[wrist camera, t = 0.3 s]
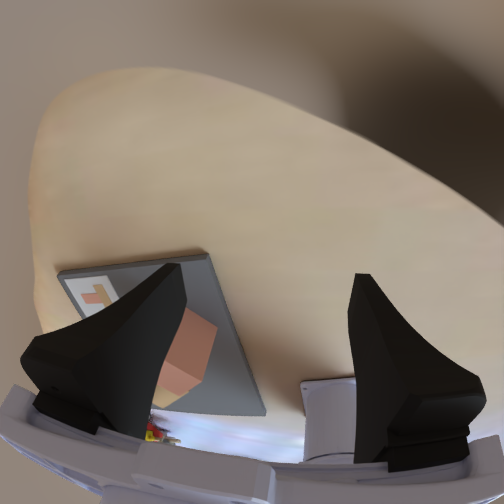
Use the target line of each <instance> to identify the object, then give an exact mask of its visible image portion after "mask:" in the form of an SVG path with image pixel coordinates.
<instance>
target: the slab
mask: <svg viewBox="0 0 504 504" xmlns="http://www.w3.org/2000/svg"><path fill="white" fill-rule="evenodd" d="M189 391H190V390H189ZM189 391H187V392H186V393H184V394H183V395H181V396H180V397H179V396H177V395H175V394H173V393H172V392H170V391H168V390H166V389H164V388H162V387H161V386H159V385H156V389H155V393H154V397H153V401H152V403H153V404H155V405H157V406H159V407H161V408H165V407H166V406H168V405H170V404H171V403H173V402H174V401H176V400H178V399H179V398H181V397H182V396H184V395H185V394H187V393H188V392H189Z"/></svg>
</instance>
